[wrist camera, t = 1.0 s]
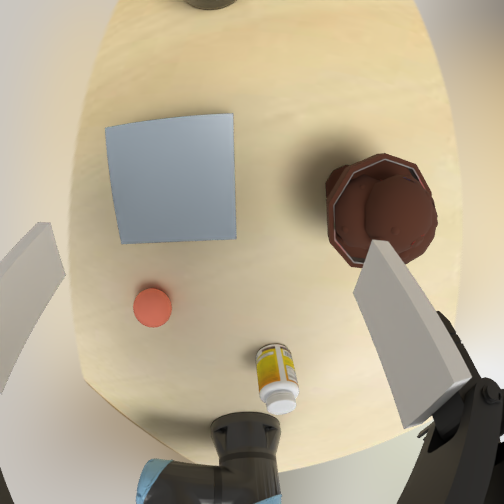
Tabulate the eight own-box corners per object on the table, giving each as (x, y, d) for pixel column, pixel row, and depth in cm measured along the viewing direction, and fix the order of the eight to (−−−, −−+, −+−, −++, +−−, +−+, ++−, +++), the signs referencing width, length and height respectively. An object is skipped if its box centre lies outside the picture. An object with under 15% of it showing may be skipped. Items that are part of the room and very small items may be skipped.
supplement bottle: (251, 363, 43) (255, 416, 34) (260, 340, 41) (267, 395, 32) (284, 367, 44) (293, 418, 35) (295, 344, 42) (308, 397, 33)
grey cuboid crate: (235, 206, 32) (236, 239, 24) (147, 211, 31) (121, 244, 23) (233, 114, 27) (233, 113, 19) (138, 123, 26) (104, 127, 19)
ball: (177, 311, 38) (171, 335, 33) (143, 311, 37) (134, 334, 33) (171, 280, 35) (163, 304, 31) (135, 281, 35) (124, 303, 31)
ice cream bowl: (285, 207, 32) (321, 278, 19) (334, 123, 28) (411, 136, 14) (355, 245, 35) (413, 320, 21) (401, 172, 31) (485, 215, 17)
